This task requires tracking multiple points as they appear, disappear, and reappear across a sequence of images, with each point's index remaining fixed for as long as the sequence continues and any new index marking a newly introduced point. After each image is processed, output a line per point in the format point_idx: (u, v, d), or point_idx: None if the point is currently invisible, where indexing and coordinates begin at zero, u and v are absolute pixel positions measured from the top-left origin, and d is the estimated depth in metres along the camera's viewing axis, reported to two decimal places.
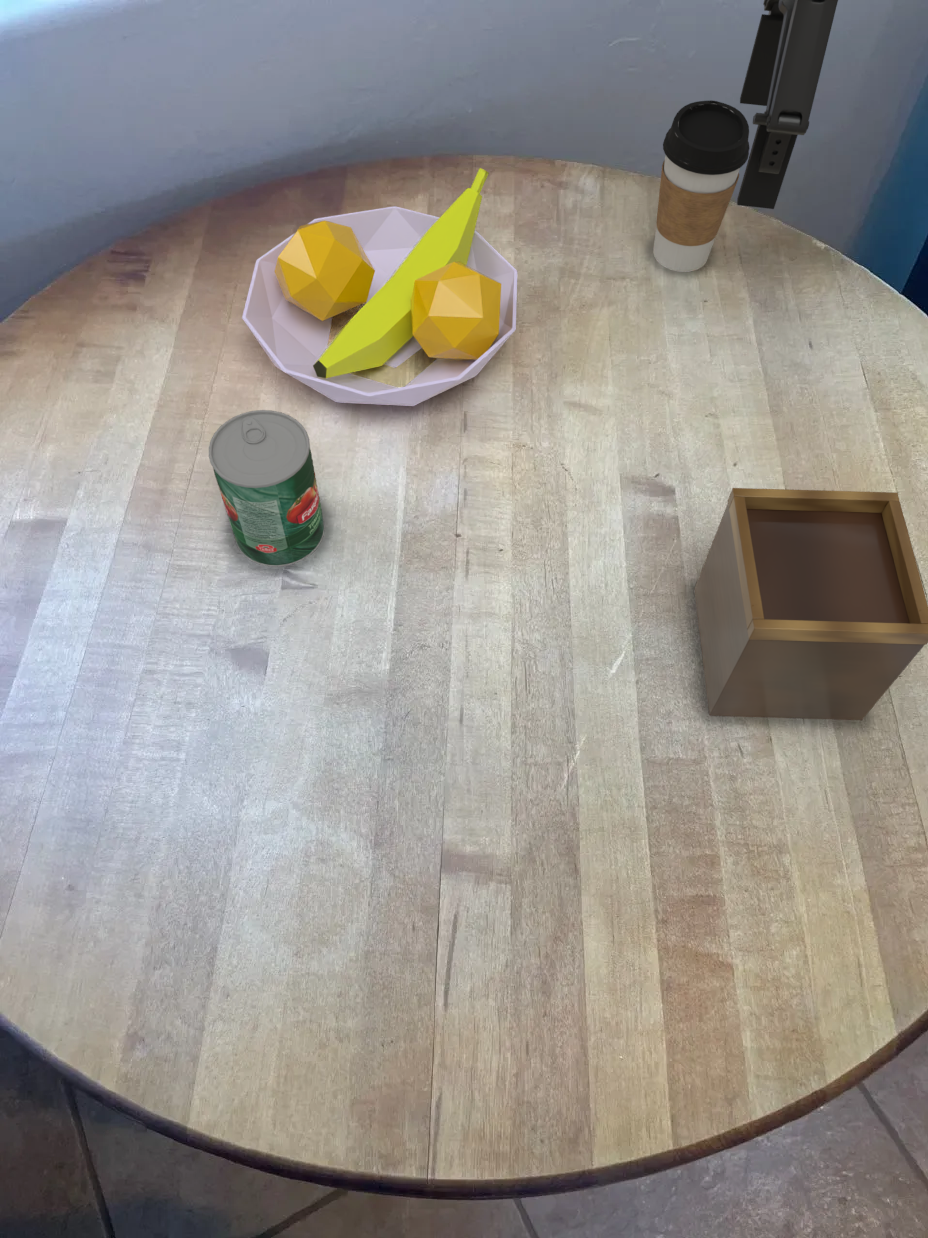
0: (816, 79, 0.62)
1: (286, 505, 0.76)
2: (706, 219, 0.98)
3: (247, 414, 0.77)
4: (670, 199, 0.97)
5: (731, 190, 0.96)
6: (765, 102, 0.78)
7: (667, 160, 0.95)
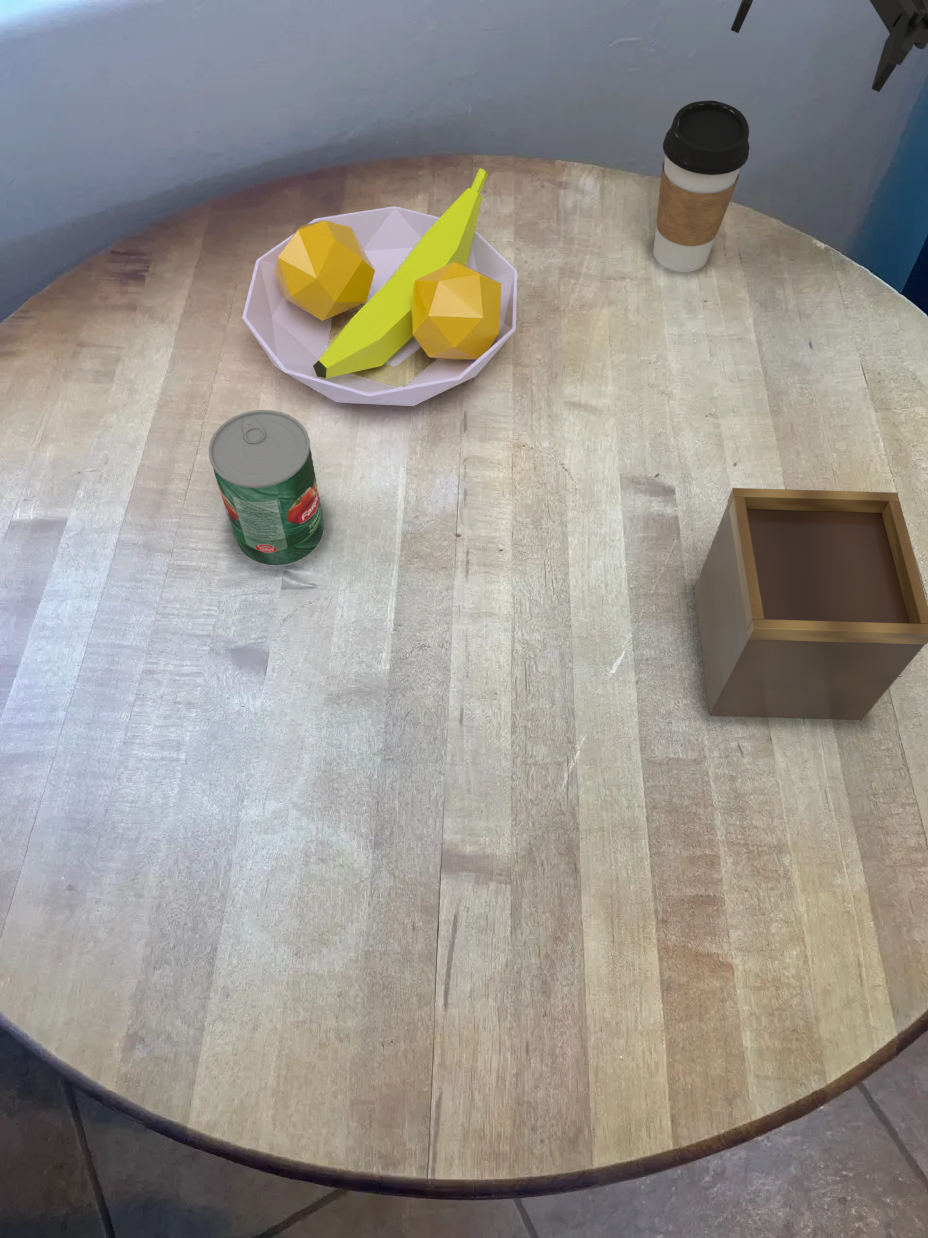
0: None
1: (286, 505, 0.76)
2: (706, 220, 0.98)
3: (247, 414, 0.77)
4: (670, 199, 0.97)
5: (731, 190, 0.96)
6: (884, 66, 0.84)
7: (667, 160, 0.95)
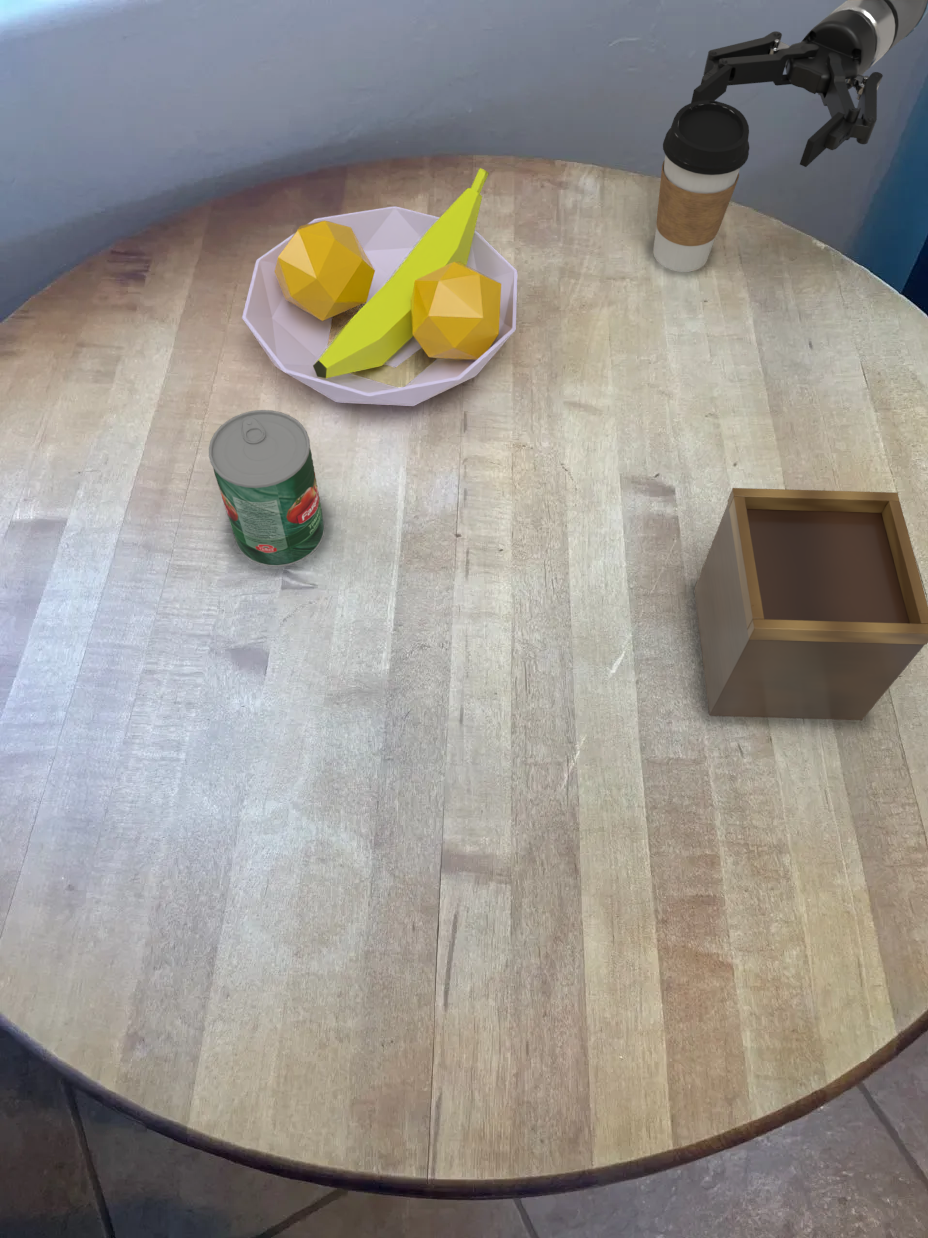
0: None
1: (286, 505, 0.76)
2: (706, 220, 0.98)
3: (247, 414, 0.77)
4: (670, 199, 0.97)
5: (731, 190, 0.96)
6: (807, 144, 0.98)
7: (667, 160, 0.95)
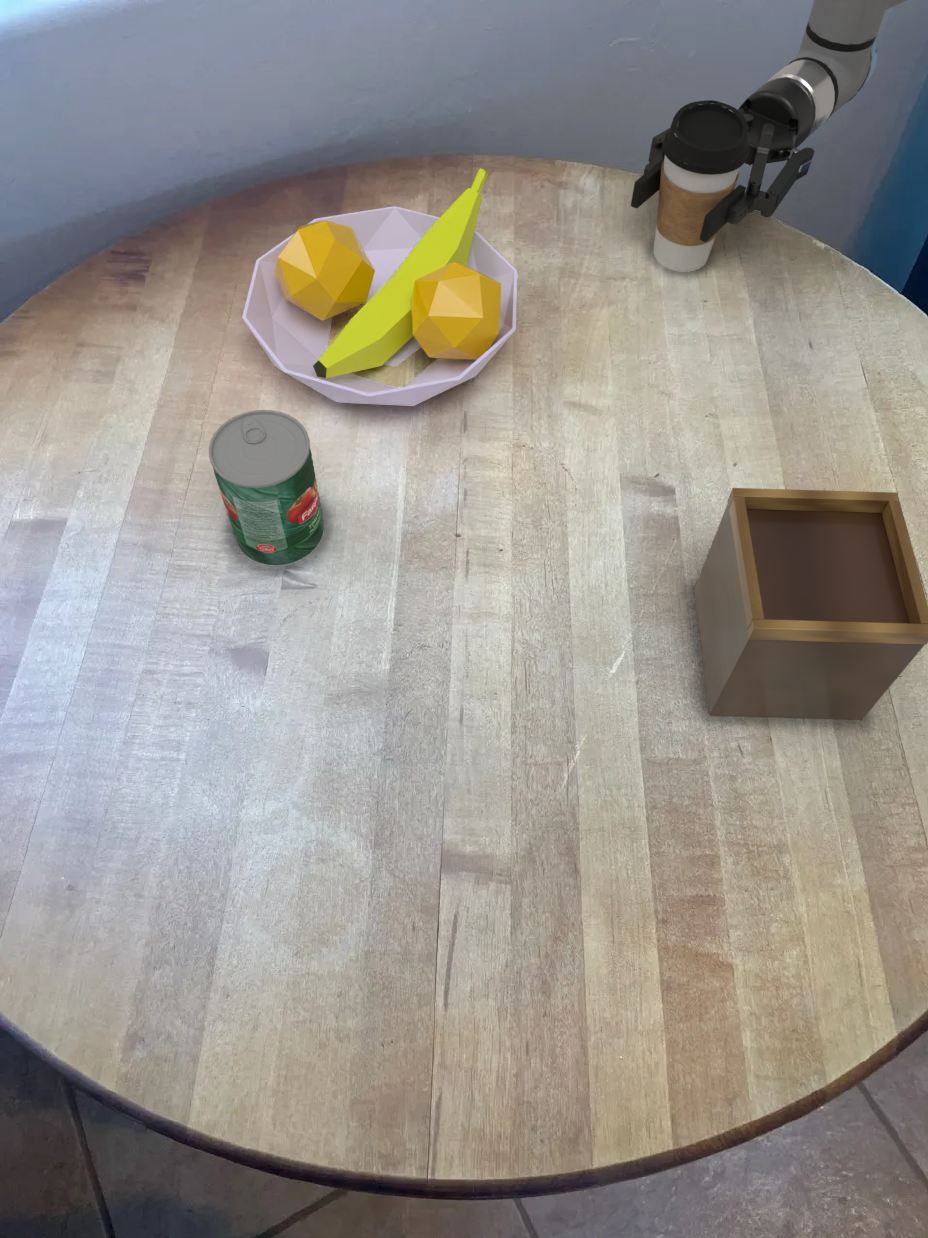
0: None
1: (286, 505, 0.76)
2: None
3: (247, 414, 0.77)
4: (669, 199, 0.97)
5: (731, 190, 0.96)
6: (705, 220, 0.95)
7: (666, 160, 0.95)
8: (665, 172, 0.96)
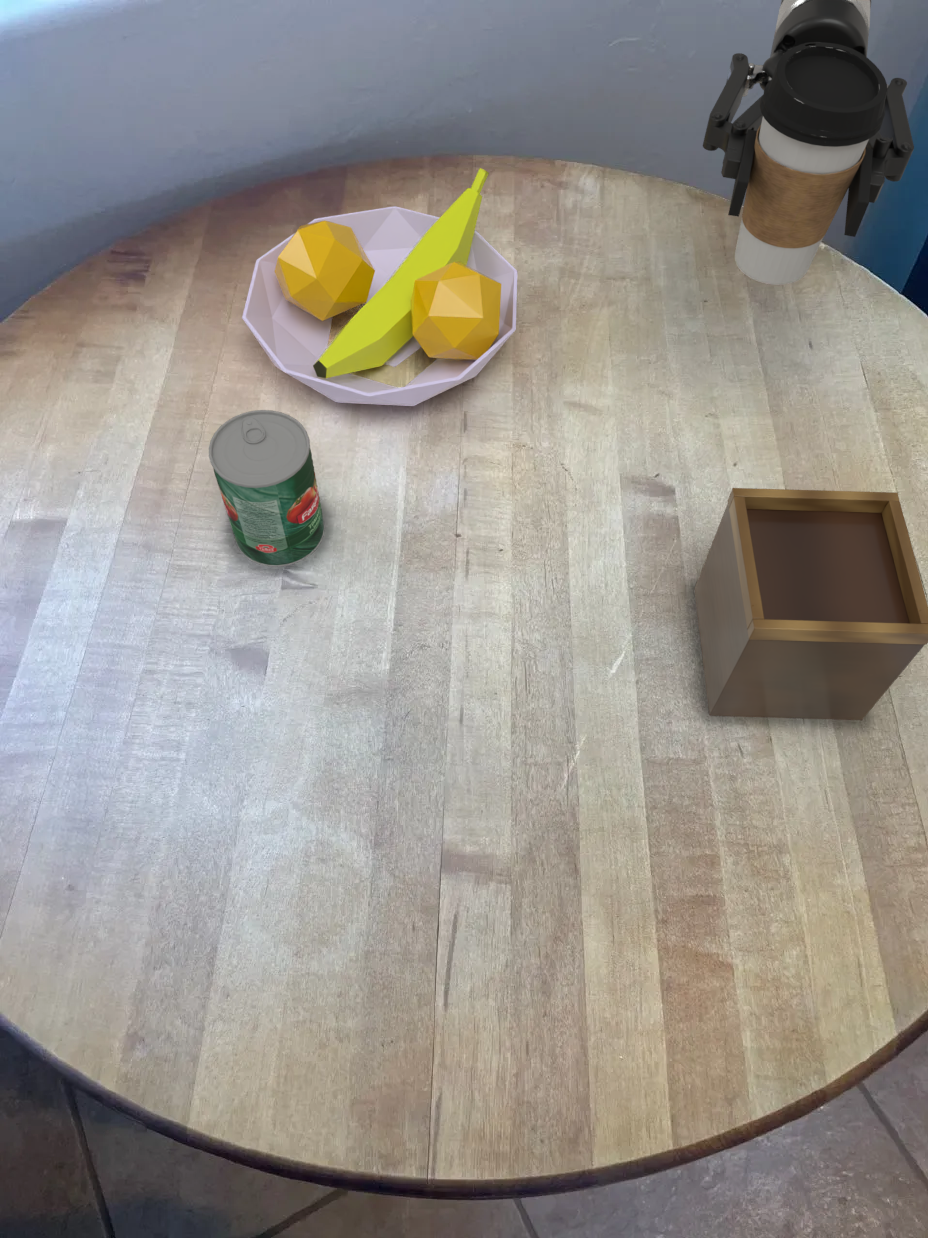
0: None
1: (286, 505, 0.76)
2: (833, 206, 0.70)
3: (247, 414, 0.77)
4: (785, 191, 0.69)
5: (862, 158, 0.69)
6: (854, 207, 0.67)
7: (778, 140, 0.66)
8: (774, 157, 0.67)
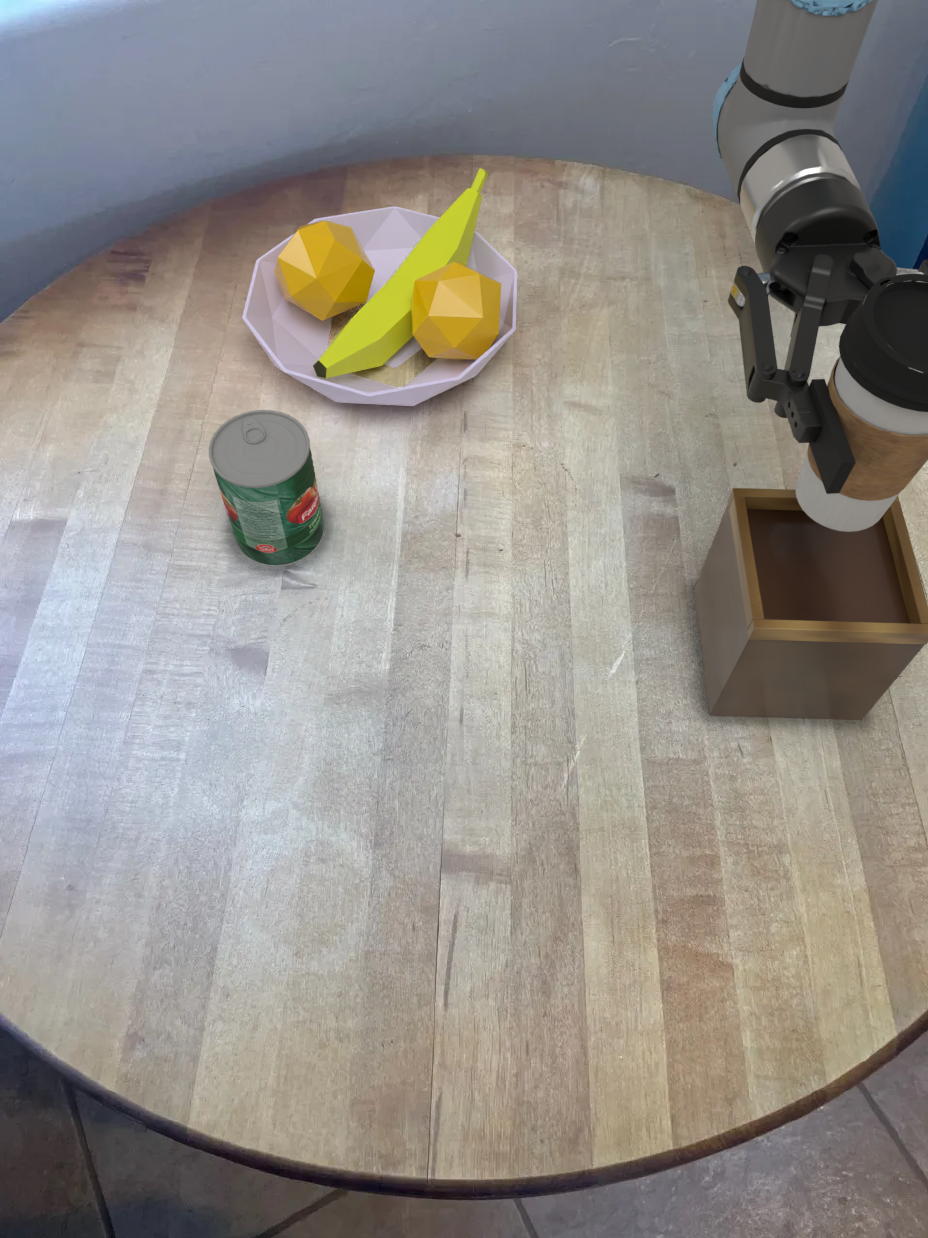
0: (752, 337, 0.59)
1: (286, 505, 0.76)
2: None
3: (247, 414, 0.77)
4: (889, 454, 0.55)
5: None
6: None
7: (882, 407, 0.53)
8: (875, 422, 0.54)
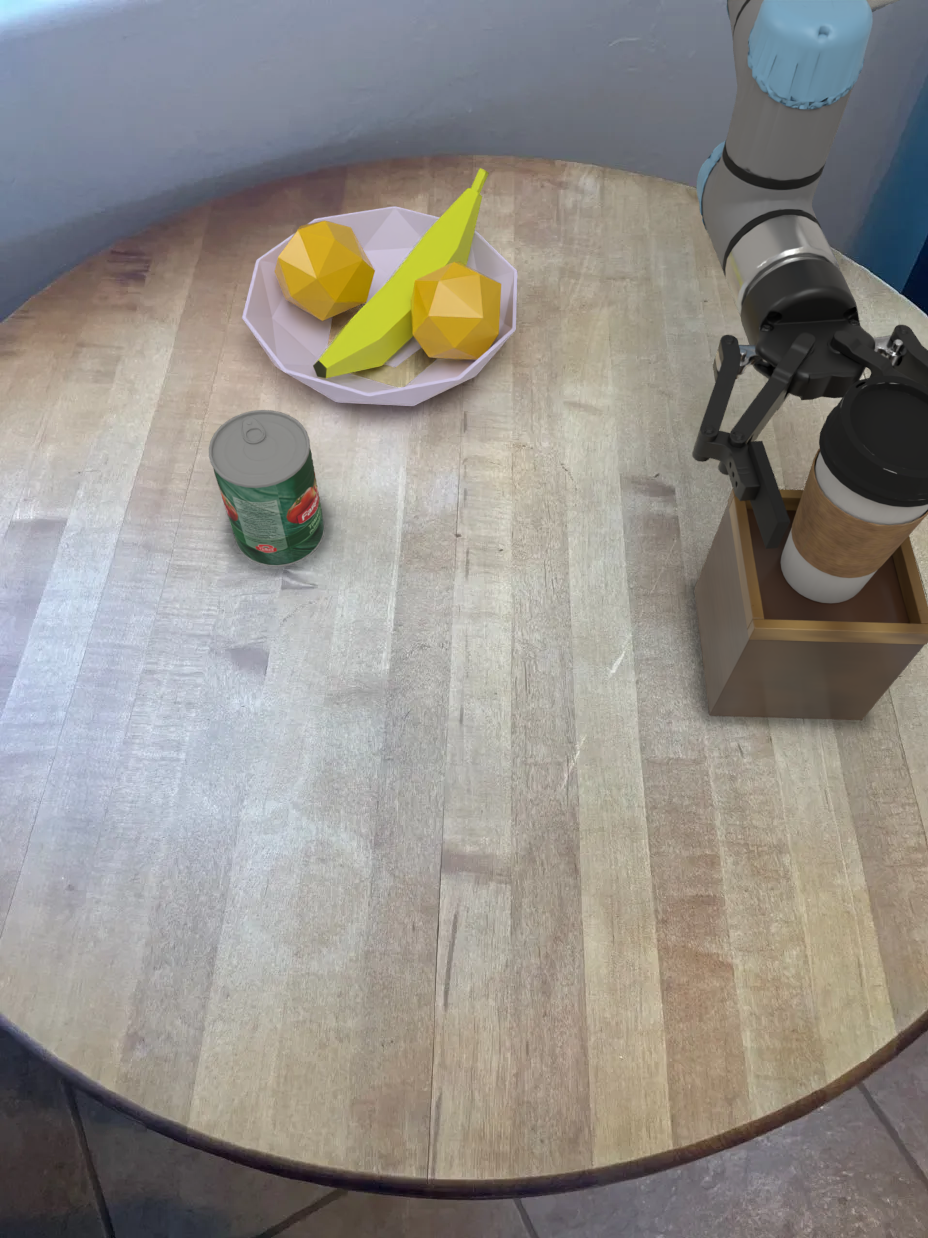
0: None
1: (286, 505, 0.76)
2: None
3: (247, 414, 0.77)
4: (867, 540, 0.60)
5: None
6: None
7: (860, 501, 0.57)
8: (853, 513, 0.58)
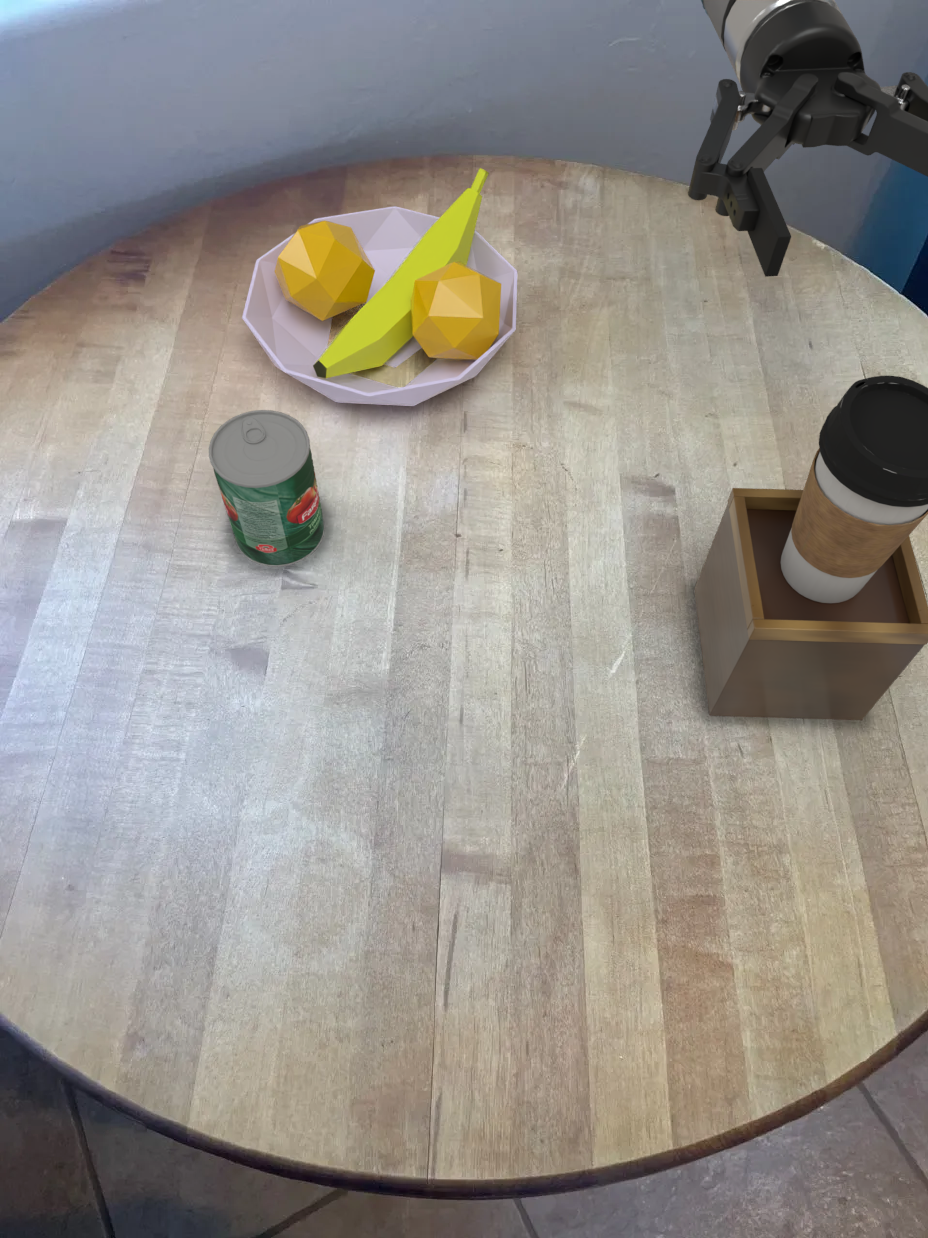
0: None
1: (286, 505, 0.76)
2: None
3: (247, 414, 0.77)
4: (867, 540, 0.60)
5: None
6: None
7: (860, 501, 0.57)
8: (853, 513, 0.58)
